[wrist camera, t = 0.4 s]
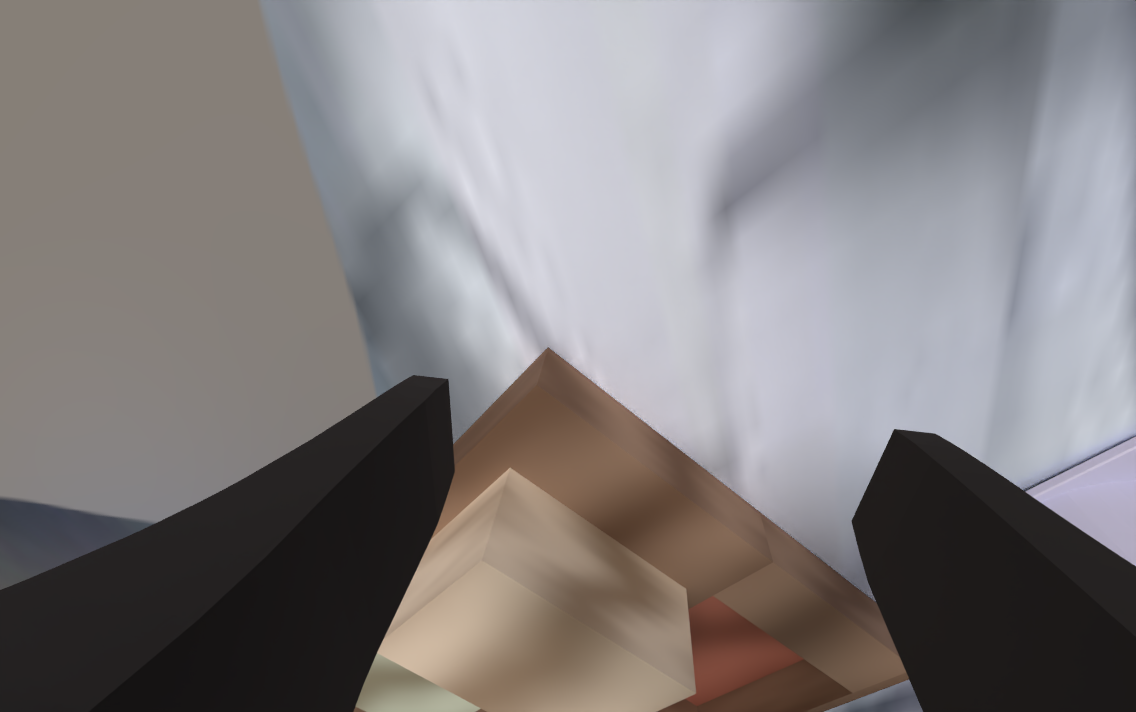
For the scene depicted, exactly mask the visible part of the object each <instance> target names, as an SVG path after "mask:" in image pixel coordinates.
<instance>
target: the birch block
mask: <svg viewBox="0 0 1136 712" xmlns="http://www.w3.org/2000/svg"><path fill="white" fill-rule="evenodd" d="M377 653H378V654H380V655H382V656H384V657H385V658H387V659H389V660H391V661H393V662H395V663H397V664H399V665H400V666H402V667H404V668H406V669H408V670H410V671H412V672H414V673H415V674H417V675H419V676H421V677H423V678H425V679H427V680H428V681H430V682H432V683H434V684H436V685H438V686H440V687H442V688H443V689H445V690H447V691H449V692H451V693H453V694H455V695H457V696H458V697H460V698H462V699H464V700H466V701H468V702H470V703H472V704H473V705H475V706H477V707H479V708H481V709H483V710H485V711H487V712H657V711H659V710H661V709H663V708H666V707H668V706H670V705H672V704H674V703H677V702H679V701H681V700H683V699H685V698H688V697H690V696H692V695H694V694H696V686H695V676H694V665H693V655H692V644H691V634H690V623H689V613H688V602H687V591H686V588H684V587H683V586H681V585H680V584H678V583H677V582H675V581H674V580H672V579H671V578H670V577H668V576H667V575H665V574H664V573H662V572H661V571H659V570H658V569H656V568H655V567H654V566H652V565H651V564H649V563H648V562H646V561H645V560H643V559H642V558H641V557H639V556H638V555H636V554H635V553H633V552H632V551H630V550H629V549H627V548H626V547H625V546H623V545H622V544H620V543H619V542H617V541H616V540H614V539H613V538H611V537H610V536H609V535H607V534H606V533H604V532H603V531H601V530H600V529H598V528H597V527H595V526H594V525H593V524H591V523H590V522H588V521H587V520H585V519H584V518H582V517H581V516H580V515H578V514H577V513H575V512H574V511H572V510H571V509H569V508H568V507H566V506H565V505H564V504H562V503H561V502H559V501H558V500H556V499H555V498H553V497H552V496H550V495H549V494H548V493H546V492H545V491H543V490H542V489H540V488H539V487H537V486H536V485H535V484H533V483H532V482H530V481H529V480H527V479H526V478H524V477H523V476H521V475H520V474H519V473H517V472H516V471H514V470H513V469H511V468H509V469H508V470H507V471H506V472H505V473H504V474H502V475H501V476H500V477H499V478H498V479H497V480H496V481H495V482H494V483H492V484H491V485H490V486H489V487H488V488H487V489H486V490H485V491H484V492H483V493H481V494H480V495H479V496H478V497H477V498H476V499H475V500H474V501H473V502H472V503H470V504H469V505H468V506H467V507H466V508H465V509H464V510H463V511H462V512H461V513H459V514H458V515H457V516H456V517H455V518H454V519H453V520H452V521H451V522H449V523H448V524H447V525H446V526H445V527H444V528H443V529H442V530H441V531H440V532H438V533H437V534H436V535H435V536H434V537H433V538H432V539H431V540H430V542H429V544H428V547H427V549H426V551H425V553H424V555H423V557H422V559H421V561H420V564H419V566H418V568H417V570H416V572H415V574H414V576H413V578H412V581H411V583H410V585H409V587H408V589H407V591H406V593H405V595H404V597H403V599H402V602H401V604H400V606H399V608H398V610H397V612H396V614H395V616H394V618H393V620H392V623H391V625H390V627H389V629H388V631H387V633H386V635H385V637H384V639H383V641H382V644H381V646H380V648H379V650H378V652H377Z"/></svg>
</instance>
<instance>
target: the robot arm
mask: <svg viewBox="0 0 1136 712" xmlns="http://www.w3.org/2000/svg"><path fill="white" fill-rule="evenodd" d="M454 473H455V464H454V450H453V437H452V423H451V410H450V396H449V382H448V379H443V378H434V377H425V376H416V375H413V376H411V377H409V378H408V379H406V380H404V381H402V382H401V383H399V384H397V385H396V386H394V387H393V388H391V389H389V390H388V391H386V392H385V393H383V394H382V395H380V396H379V397H377V398H376V399H374V400H372V401H371V402H369V403H368V404H366V405H365V406H363V407H362V408H360V409H359V410H357V411H355V412H354V413H352V414H351V415H349V416H348V417H346V418H345V419H343V420H341V421H340V422H338V423H337V424H335V425H333V426H332V427H330V428H329V429H327V430H326V431H324V432H323V433H321V434H319V435H318V436H316V437H314V438H313V439H312V440H310V441H308V442H306V443H305V444H303V445H301V446H299V447H298V448H296V449H294V450H293V451H291V452H289V453H288V454H286V455H284V456H282V457H280V458H279V459H277V460H275V461H273V462H272V463H270V464H268V465H267V466H265V467H263V468H261V469H260V470H258V471H256V472H254V473H253V474H251V475H249V476H248V477H246V478H244V479H242V480H241V481H239V482H237V483H235V484H233V485H231V486H229V487H228V488H226V489H224V490H222V491H220V492H218V493H216V494H214V495H212V496H211V497H208V498H207V499H205V500H203V501H201V502H199V503H197V504H195V505H193V506H191V507H189V508H186V509H185V510H182V511H180V512H178V513H176V514H174V515H172V516H170V517H168V518H166V519H164V520H162V521H160V522H158V523H156V524H154V525H152V526H149V527H147V528H145V529H143V530H141V531H139V532H136V533H134V534H132V535H130V536H128V537H125V538H123V539H121V540H118V541H116V542H114V543H111V544H109V545H107V546H104V547H102V548H100V549H97V550H95V551H93V552H90V553H88V554H86V555H83V556H81V557H79V558H76V559H74V560H72V561H69V562H67V563H65V564H62V565H60V566H58V567H55V568H53V569H51V570H48V571H46V572H44V573H41V574H39V575H37V576H34V577H32V578H30V579H27V580H25V581H22V582H20V583H17V584H15V585H12V586H10V587H7V588H5V589H2V590H0V712H354V709H355V706H356V704H357V701H358V698H359V696H360V693H361V690H362V687H363V685H364V682H365V680H366V678H367V675H368V673H369V671H370V668H371V666H372V664H373V661H374V659H375V657H376V654H377V652H378V650H379V648H380V646H381V644H382V641H383V639H384V637H385V635H386V633H387V631H388V629H389V627H390V625H391V623H392V620H393V618H394V616H395V614H396V612H397V610H398V608H399V606H400V604H401V602H402V599H403V597H404V595H405V593H406V591H407V589H408V587H409V585H410V583H411V581H412V578H413V576H414V574H415V572H416V570H417V568H418V566H419V564H420V561H421V559H422V557H423V555H424V553H425V551H426V549H427V547H428V544H429V542H430V540H431V538H432V536H433V534H434V531H435V529H436V527H437V525H438V522H439V519H440V516H441V513H442V510H443V507H444V504H445V502H446V498H447V495H448V492H449V489H450V486H451V483H452V479H453V476H454ZM852 525H853V529H854V533H855V537H856V541H857V545H858V549H859V552H860V556H861V559H862V563H863V566H864V570H865V573H866V576H867V580H868V583H869V585H870V588H871V590H872V593H873V595H874V598H875V600H876V602H877V605H878V607H879V610H880V612H881V614H882V617H883V619H884V622H885V624H886V626H887V629H888V631H889V633H890V636H891V638H892V640H893V643H894V645H895V647H896V650H897V652H898V654H899V657H900V659H901V661H902V664H903V666H904V668H905V670H906V673H907V675H908V677H909V680H910V682H911V684H912V687H913V689H914V691H915V694H916V696H917V698H918V701H919V703H920V705H921V708H922V710H923V712H1136V437H1134V438H1132V439H1130V440H1128V441H1126V442H1124V443H1122V444H1120V445H1118V446H1116V447H1114V448H1112V449H1110V450H1108V451H1106V452H1104V453H1101V454H1099V455H1097V456H1095V457H1093V458H1091V459H1089V460H1087V461H1085V462H1083V463H1081V464H1079V465H1077V466H1075V467H1073V468H1071V469H1069V470H1067V471H1065V472H1063V473H1061V474H1059V475H1057V476H1055V477H1053V478H1051V479H1049V480H1047V481H1045V482H1043V483H1041V484H1039V485H1037V486H1035V487H1033V488H1031V489H1029V490H1027V491H1023V490H1022V489H1020V488H1019V487H1017V486H1016V485H1014V484H1013V483H1012V482H1010V481H1009V480H1007V479H1006V478H1004V477H1003V476H1001V475H1000V474H998V473H997V472H995V471H994V470H992V469H991V468H989V467H988V466H986V465H985V464H983V463H982V462H980V461H979V460H977V459H976V458H974V457H973V456H971V455H970V454H968V453H967V452H965V451H963V450H962V449H960V448H959V447H957V446H955V445H954V444H952V443H951V442H949V441H947V440H945V439H944V438H942V437H940V436H938V435H936V434H933V433H924V432H915V431H906V430H897V429H894V431H893V433H892V435H891V437H890V440H889V442H888V444H887V446H886V448H885V450H884V452H883V455H882V457H881V459H880V461H879V463H878V465H877V468H876V470H875V472H874V474H873V476H872V478H871V480H870V483H869V485H868V487H867V489H866V491H865V493H864V495H863V498H862V500H861V502H860V504H859V506H858V508H857V511H856V513H855V515H854V517H853V519H852Z"/></svg>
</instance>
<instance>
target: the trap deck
mask: <svg viewBox="0 0 1136 712" xmlns="http://www.w3.org/2000/svg"><path fill="white" fill-rule="evenodd" d="M453 450H454V464H455V473H454V476H453V479H452V483H451V486H450V489H449V492H448V495H447V498H446V502H445V504H444V507H443V510H442V513H441V516H440V519H439V522H438V525H437V527H436V529H435V531H434V534H433V536H432V538H433V537H434V536H435V535H436V534H437V533H438V532H440V531H441V530H442V529H443V528H444V527H445V526H446V525H447V524H448V523H449V522H451V521H452V520H453V519H454V518H455V517H456V516H457V515H458V514H459V513H461V512H462V511H463V510H464V509H465V508H466V507H467V506H468V505H469V504H470V503H472V502H473V501H474V500H475V499H476V498H477V497H478V496H479V495H480V494H481V493H483V492H484V491H485V490H486V489H487V488H488V487H489V486H490V485H491V484H492V483H494V482H495V481H496V480H497V479H498V478H499V477H500V476H501V475H502V474H504V473H505V472H506V471H507V470H508V469H509V468H511V469H513V470H514V471H516V472H517V473H519V474H520V475H521V476H523V477H524V478H526V479H527V480H529V481H530V482H532V483H533V484H535V485H536V486H537V487H539V488H540V489H542V490H543V491H545V492H546V493H548V494H549V495H550V496H552V497H553V498H555V499H556V500H558V501H559V502H561V503H562V504H564V505H565V506H566V507H568V508H569V509H571V510H572V511H574V512H575V513H577V514H578V515H580V516H581V517H582V518H584V519H585V520H587V521H588V522H590V523H591V524H593V525H594V526H595V527H597V528H598V529H600V530H601V531H603V532H604V533H606V534H607V535H609V536H610V537H611V538H613V539H614V540H616V541H617V542H619V543H620V544H622V545H623V546H625V547H626V548H627V549H629V550H630V551H632V552H633V553H635V554H636V555H638V556H639V557H641V558H642V559H643V560H645V561H646V562H648V563H649V564H651V565H652V566H654V567H655V568H656V569H658V570H659V571H661V572H662V573H664V574H665V575H667V576H668V577H670V578H671V579H672V580H674V581H675V582H677V583H678V584H680V585H681V586H683V587H684V588H686V591H687V602H688V613H689V623H690V634H691V644H692V655H693V665H694V676H695V686H696V694H694V695H692V696H690V697H688V698H685V699H683V700H681V701H679V702H677V703H674V704H672V705H670V706H668V707H666V708H663V709H661V710H659V711H657V712H824V711H826V710H829V709H832V708H834V707H837V706H840V705H842V704H845V703H848V702H850V701H853V700H856V699H858V698H861V697H863V696H866V695H869V694H871V693H874V692H877V691H879V690H882V689H885V688H887V687H890V686H893V685H895V684H898V683H901V682H903V681H906V680H908V679H909V677H908V675H907V673H906V670H905V668H904V666H903V664H902V661H901V659H900V657H899V654H898V652H897V650H896V647H895V645H894V643H893V640H892V638H891V636H890V633H889V631H888V629H887V626H886V624H885V622H884V619H883V617H882V614H881V612H880V610H879V607H878V605H877V603H876V602H874V601H873V600H872V599H870V598H869V597H868V596H867V595H865V594H864V593H863V592H861V591H860V590H859V589H858V588H856V587H855V586H854V585H852V584H851V583H850V582H849V581H847V580H846V579H845V578H844V577H842V576H841V575H840V574H838V573H837V572H836V571H835V570H833V569H832V568H831V567H829V566H828V565H827V564H826V563H824V562H823V561H822V560H820V559H819V558H818V557H817V556H815V555H814V554H813V553H811V552H810V551H809V550H808V549H806V548H805V547H804V546H802V545H801V544H800V543H799V542H797V541H796V540H795V539H793V538H792V537H791V536H790V535H788V534H787V533H786V532H784V531H783V530H782V529H781V528H779V527H778V526H777V525H775V524H774V523H773V522H772V521H770V520H769V519H768V518H766V517H765V516H764V515H763V514H761V513H760V512H759V511H757V510H756V509H755V508H754V507H752V506H751V505H750V504H748V503H747V502H746V501H745V500H743V499H742V498H741V497H739V496H738V495H737V494H736V493H734V492H733V491H732V490H731V489H729V488H728V487H727V486H725V485H724V484H723V483H722V482H720V481H719V480H718V479H716V478H715V477H714V476H713V475H711V474H710V473H709V472H707V471H706V470H705V469H704V468H702V467H701V466H700V465H698V464H697V463H696V462H695V461H693V460H692V459H691V458H689V457H688V456H687V455H686V454H684V453H683V452H682V451H680V450H679V449H678V448H677V447H675V446H674V445H673V444H671V443H670V442H669V441H668V440H666V439H665V438H664V437H662V436H661V435H660V434H659V433H657V432H656V431H655V430H653V429H652V428H651V427H650V426H648V425H647V424H646V423H644V422H643V421H642V420H641V419H639V418H638V417H637V416H635V415H634V414H633V413H632V412H630V411H629V410H628V409H626V408H625V407H624V406H623V405H621V404H620V403H619V402H617V401H616V400H615V399H614V398H612V397H611V396H610V395H609V394H607V393H606V392H605V391H603V390H602V389H601V388H600V387H598V386H597V385H596V384H594V383H593V382H592V381H591V380H589V379H588V378H587V377H585V376H584V375H583V374H582V373H580V372H579V371H578V370H576V369H575V368H574V367H573V366H571V365H570V364H569V363H567V362H566V361H565V360H564V359H562V358H561V357H560V356H558V355H557V354H556V353H555V352H553V351H552V350H551V349H549V348H547V349H546V350H545V351H544V352H543V353H542V354H541V355H540V356H539V357H538V358H537V359H536V360H535V361H534V362H533V363H532V364H531V365H530V366H529V367H528V368H527V369H526V370H525V372H524V373H523V374H522V375H521V376H520V377H519V378H518V379H517V380H516V381H515V382H514V383H513V384H512V385H511V386H510V387H509V388H508V389H507V390H506V391H505V392H504V393H503V394H502V395H501V396H500V397H499V398H498V399H497V400H496V401H495V402H494V403H493V404H492V405H491V406H490V407H489V408H488V409H487V410H486V411H485V413H484V414H483V415H482V416H481V417H480V418H479V419H478V420H477V421H476V422H475V423H474V424H473V425H472V426H471V427H470V428H469V429H468V430H467V431H466V432H465V433H464V434H463V435H462V436H461V437H460V438H459V439H458V440H457V441H456V442H455V443H454V444H453ZM432 538H431V539H432ZM354 712H487V711H485V710H483V709H481V708H479V707H477V706H475V705H473V704H472V703H470V702H468V701H466V700H464V699H462V698H460V697H458V696H457V695H455V694H453V693H451V692H449V691H447V690H445V689H443V688H442V687H440V686H438V685H436V684H434V683H432V682H430V681H428V680H427V679H425V678H423V677H421V676H419V675H417V674H415V673H414V672H412V671H410V670H408V669H406V668H404V667H402V666H400V665H399V664H397V663H395V662H393V661H391V660H389V659H387V658H385V657H384V656H382V655H380V654H378V653H377V654H376V657H375V659H374V661H373V664H372V666H371V668H370V671H369V673H368V675H367V678H366V680H365V682H364V685H363V687H362V690H361V693H360V696H359V698H358V701H357V704H356V706H355V709H354Z"/></svg>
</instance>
